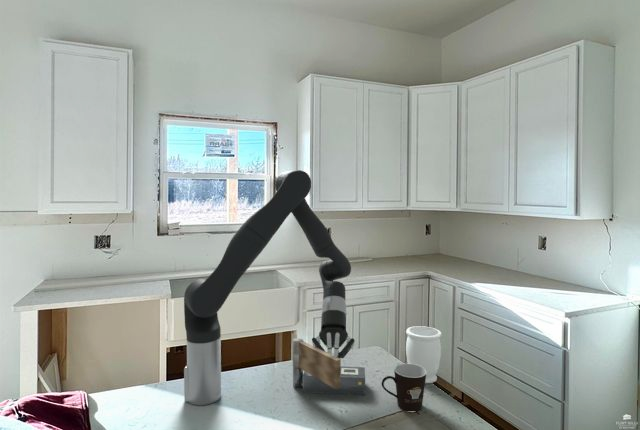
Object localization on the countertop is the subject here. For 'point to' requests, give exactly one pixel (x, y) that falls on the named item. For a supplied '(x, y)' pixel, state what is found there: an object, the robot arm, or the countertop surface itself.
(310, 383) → the case
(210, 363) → the robot arm
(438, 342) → the jar
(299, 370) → the swing post
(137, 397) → the countertop surface
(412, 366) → the coffee mug
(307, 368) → the brown wooden board
